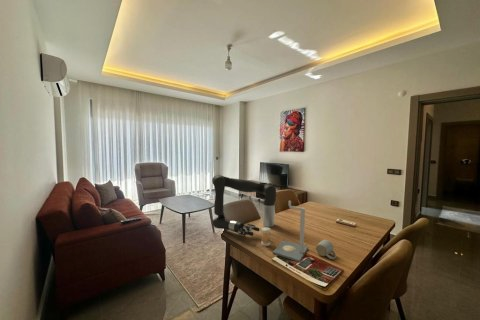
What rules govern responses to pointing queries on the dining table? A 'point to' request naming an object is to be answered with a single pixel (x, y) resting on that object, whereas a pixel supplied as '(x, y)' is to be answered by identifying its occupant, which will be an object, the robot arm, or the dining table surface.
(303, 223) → the stand
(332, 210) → the dining table surface
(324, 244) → the ceramic mug
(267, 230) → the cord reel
